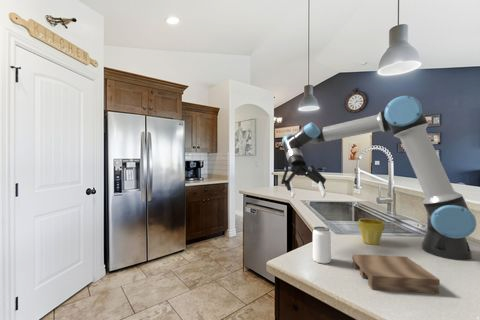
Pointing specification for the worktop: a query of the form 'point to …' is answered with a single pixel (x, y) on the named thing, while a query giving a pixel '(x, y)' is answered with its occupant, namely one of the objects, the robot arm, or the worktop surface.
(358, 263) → the platform
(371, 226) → the plant pot
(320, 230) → the can
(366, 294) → the worktop surface
